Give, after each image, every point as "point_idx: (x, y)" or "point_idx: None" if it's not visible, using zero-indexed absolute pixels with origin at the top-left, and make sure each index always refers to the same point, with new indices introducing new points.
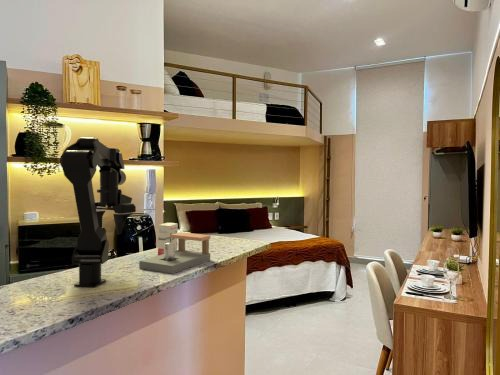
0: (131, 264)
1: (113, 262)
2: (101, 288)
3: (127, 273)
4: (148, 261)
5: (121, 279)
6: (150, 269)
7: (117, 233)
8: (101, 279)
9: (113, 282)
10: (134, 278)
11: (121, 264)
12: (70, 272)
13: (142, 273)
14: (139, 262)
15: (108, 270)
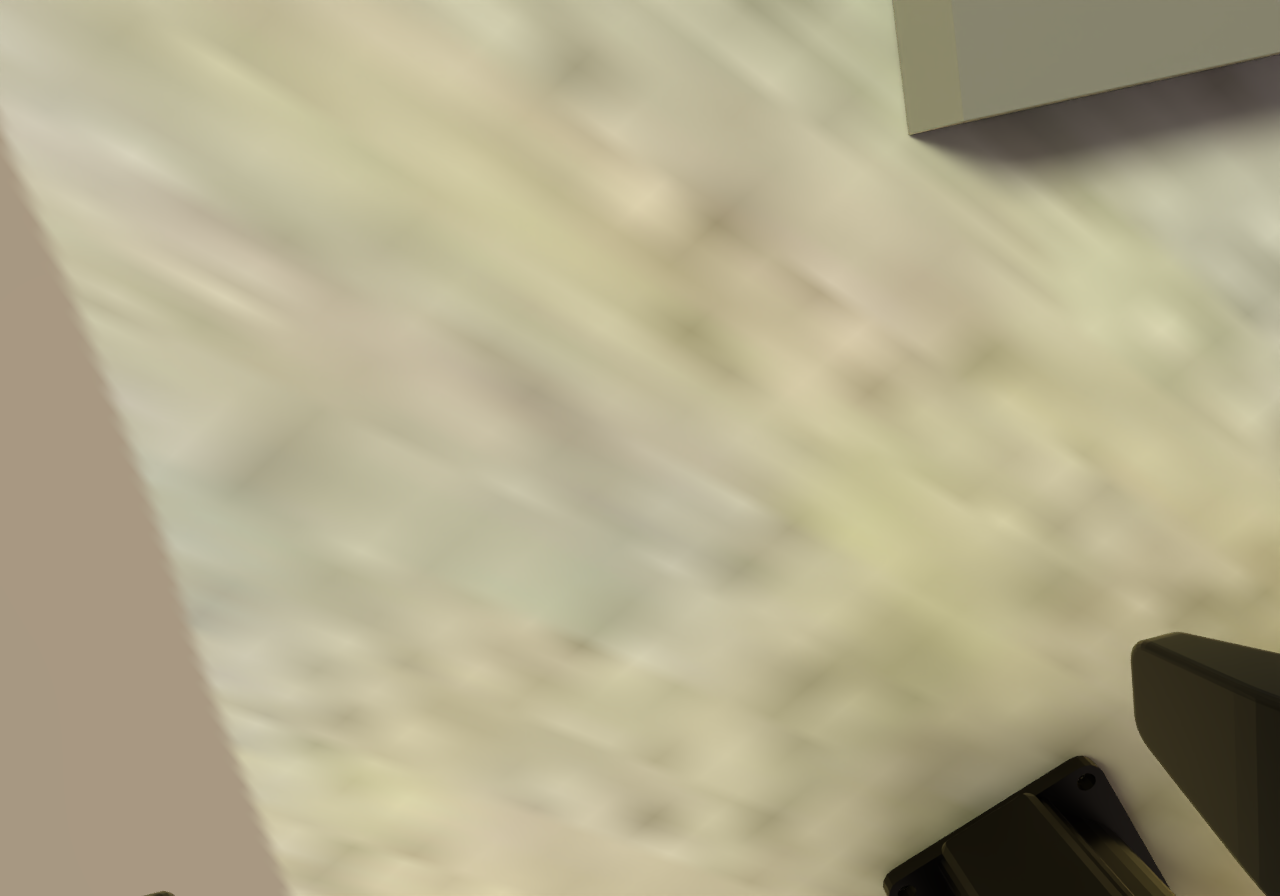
0: (598, 66)
1: (235, 198)
2: (1236, 874)
3: (1003, 419)
4: (1127, 37)
5: (1156, 605)
6: (1130, 86)
7: (1163, 761)
8: (1061, 801)
9: None
10: (1248, 483)
11: (475, 185)
12: (403, 877)
13: (1162, 282)
14: (951, 123)
15: (671, 513)
